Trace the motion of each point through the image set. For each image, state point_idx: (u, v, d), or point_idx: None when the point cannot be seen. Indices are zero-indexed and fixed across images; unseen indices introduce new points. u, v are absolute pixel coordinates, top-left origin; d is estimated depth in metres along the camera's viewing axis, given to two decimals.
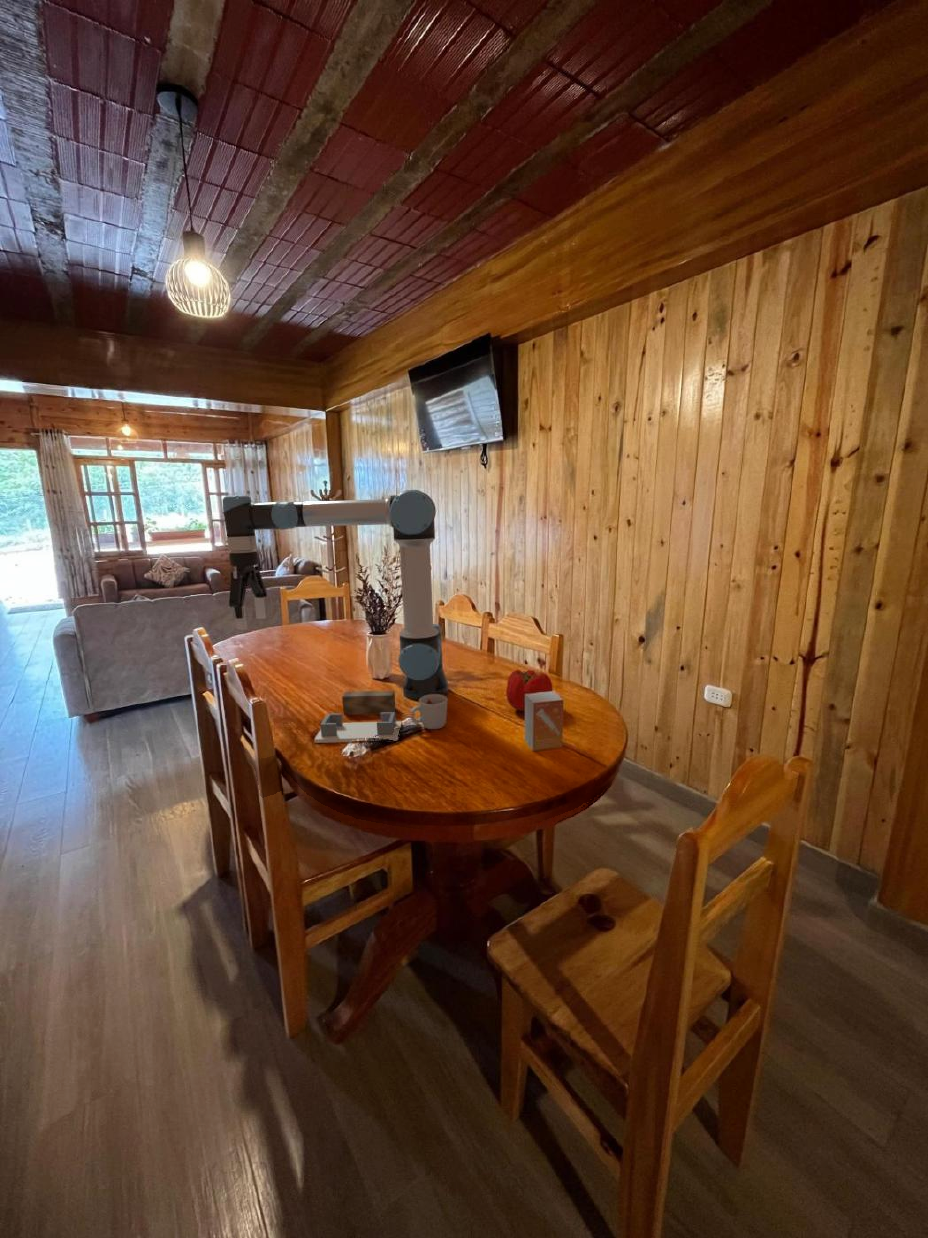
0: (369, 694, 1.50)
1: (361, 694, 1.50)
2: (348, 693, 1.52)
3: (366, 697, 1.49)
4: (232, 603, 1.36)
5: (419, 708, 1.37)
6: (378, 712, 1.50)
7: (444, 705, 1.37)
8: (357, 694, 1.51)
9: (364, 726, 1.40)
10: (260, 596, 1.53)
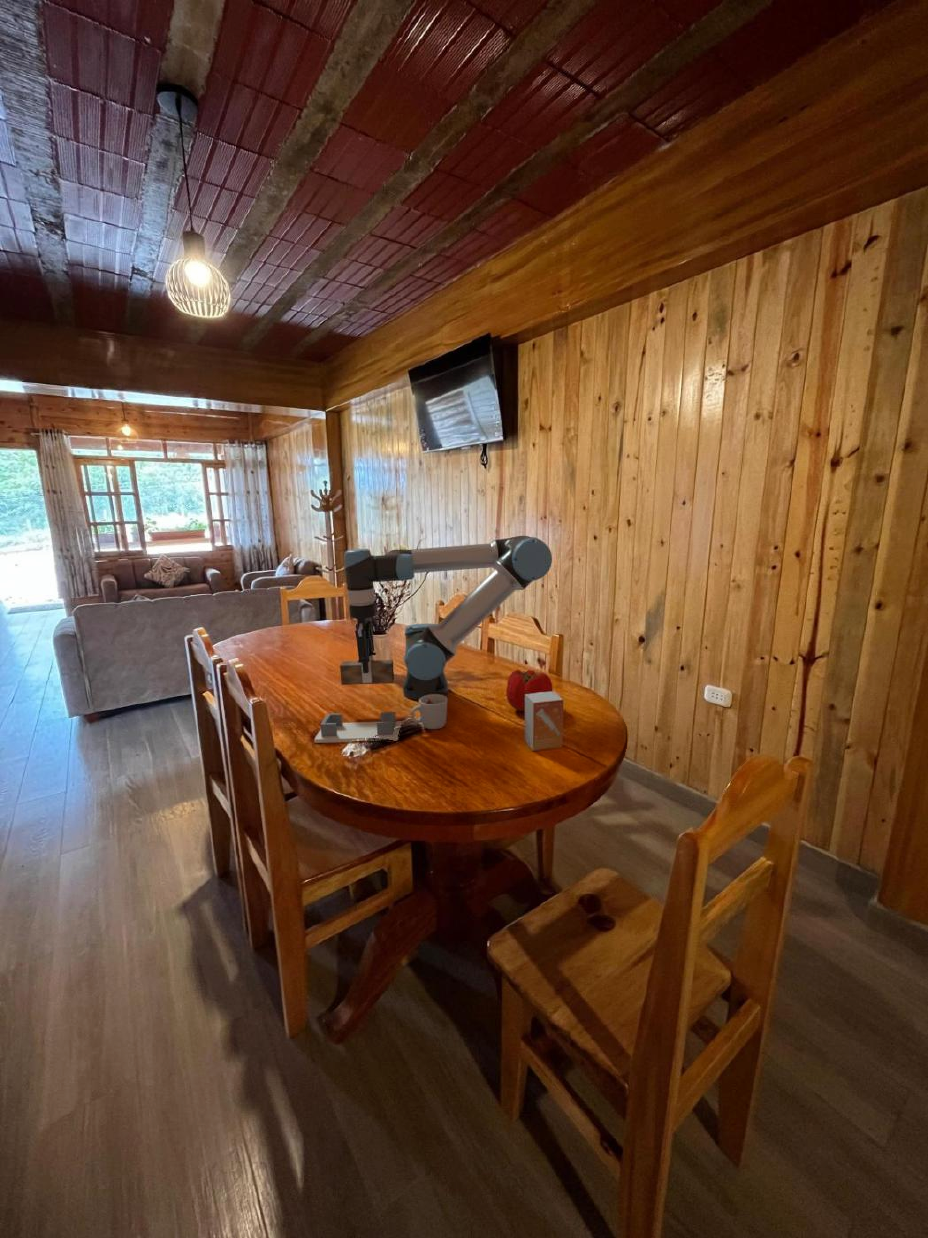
0: None
1: (359, 663, 1.48)
2: (346, 662, 1.49)
3: None
4: (362, 660, 1.43)
5: (419, 708, 1.37)
6: (377, 681, 1.48)
7: (444, 705, 1.37)
8: (355, 663, 1.48)
9: (364, 726, 1.40)
10: (370, 654, 1.51)
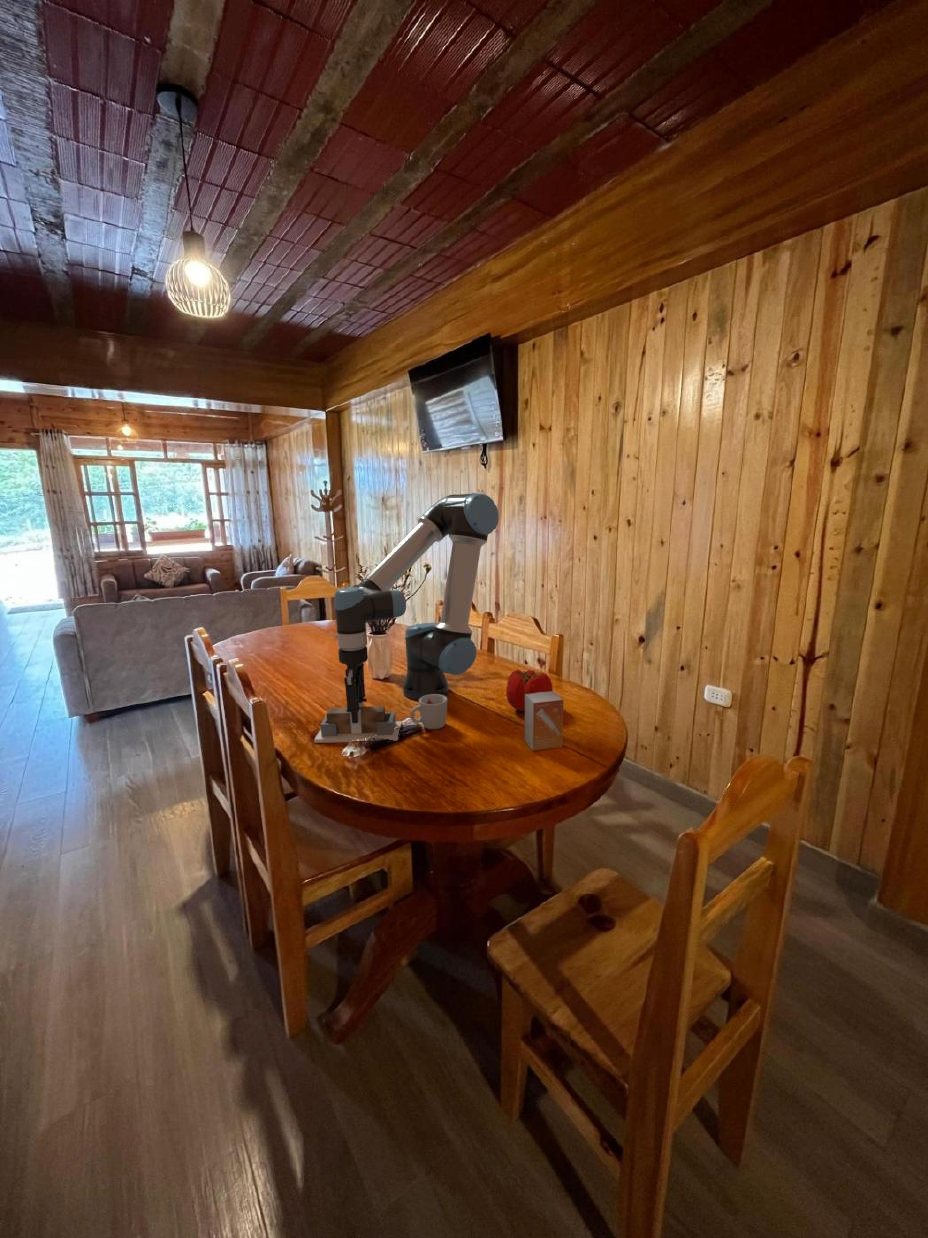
0: None
1: None
2: (333, 709, 1.37)
3: None
4: (351, 710, 1.30)
5: (419, 708, 1.37)
6: (367, 730, 1.35)
7: (444, 705, 1.37)
8: (344, 710, 1.35)
9: None
10: (360, 700, 1.38)
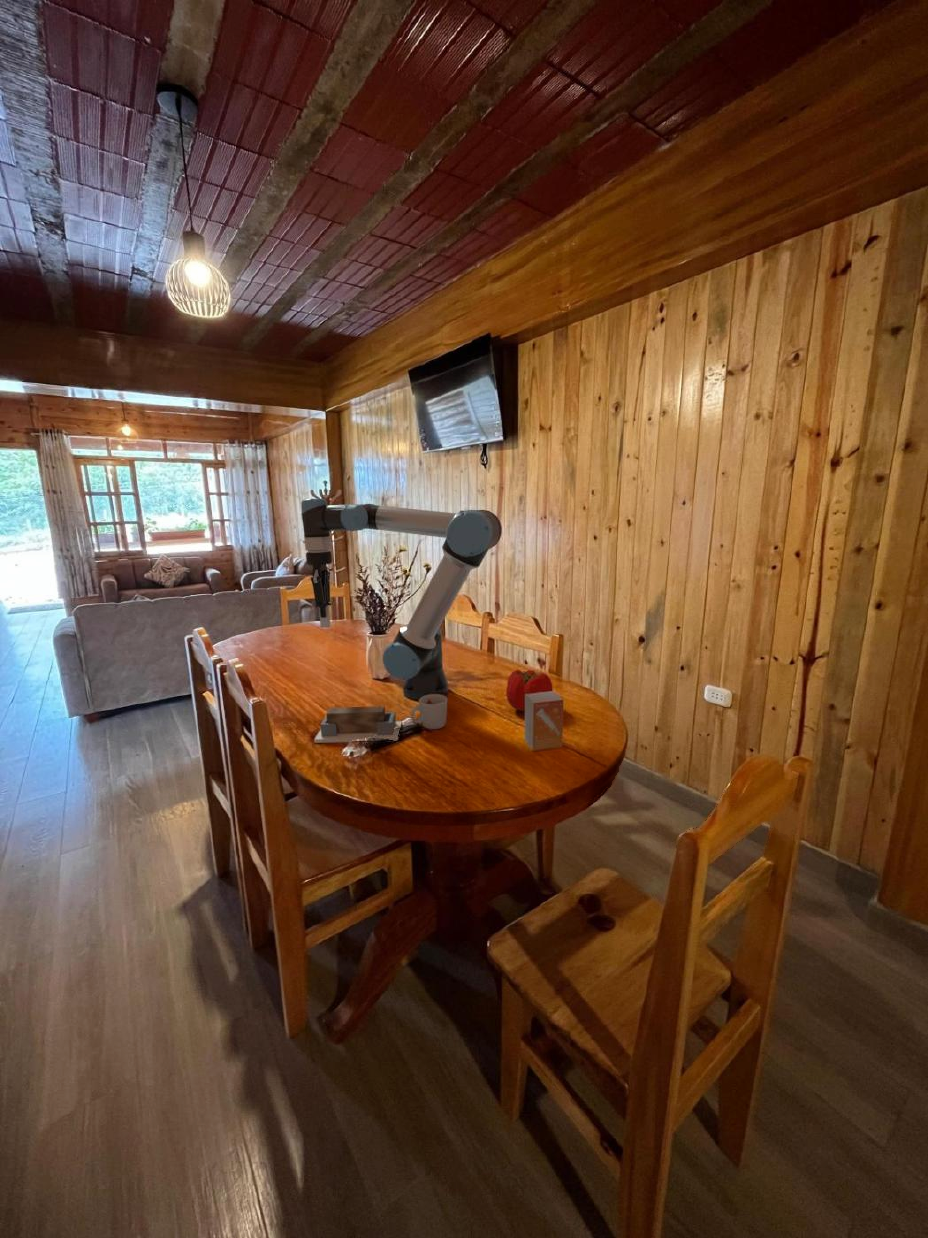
0: (356, 711, 1.35)
1: (347, 711, 1.35)
2: (334, 709, 1.37)
3: (353, 714, 1.34)
4: (319, 605, 1.51)
5: (419, 708, 1.37)
6: (367, 730, 1.35)
7: (444, 705, 1.37)
8: (344, 710, 1.35)
9: None
10: None
